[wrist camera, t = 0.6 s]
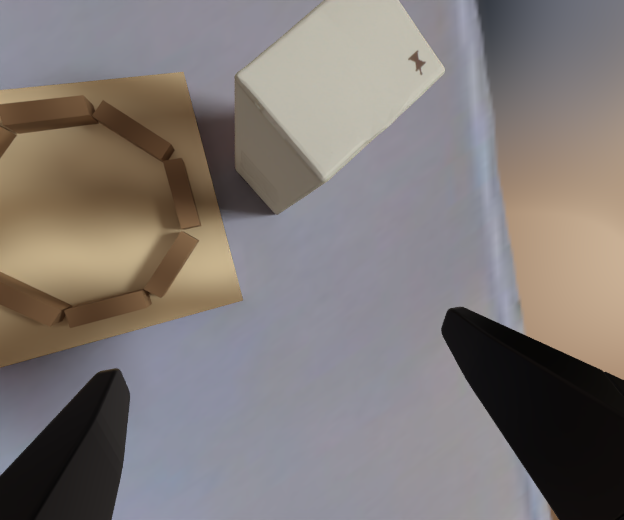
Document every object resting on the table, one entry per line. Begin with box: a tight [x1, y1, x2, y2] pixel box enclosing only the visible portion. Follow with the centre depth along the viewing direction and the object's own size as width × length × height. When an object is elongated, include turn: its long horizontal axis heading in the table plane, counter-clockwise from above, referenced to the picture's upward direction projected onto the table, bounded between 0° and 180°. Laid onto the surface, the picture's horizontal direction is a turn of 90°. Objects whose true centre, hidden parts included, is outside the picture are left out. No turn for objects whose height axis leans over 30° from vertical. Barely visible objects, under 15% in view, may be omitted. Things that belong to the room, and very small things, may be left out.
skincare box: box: [235, 0, 445, 215], centre depth 15 cm, size 6×4×12 cm
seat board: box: [0, 72, 243, 368], centre depth 17 cm, size 14×14×2 cm
